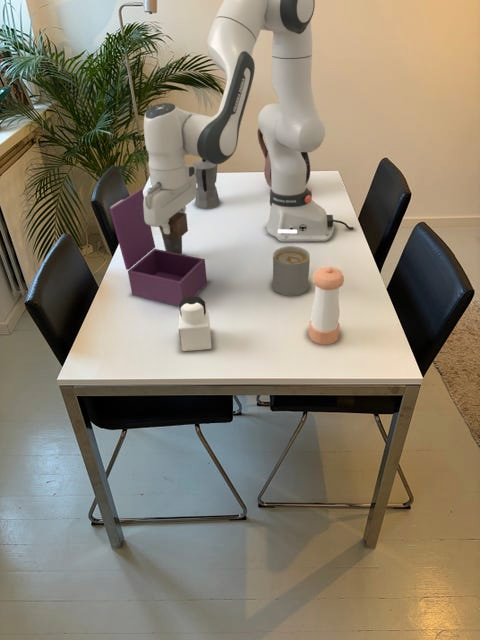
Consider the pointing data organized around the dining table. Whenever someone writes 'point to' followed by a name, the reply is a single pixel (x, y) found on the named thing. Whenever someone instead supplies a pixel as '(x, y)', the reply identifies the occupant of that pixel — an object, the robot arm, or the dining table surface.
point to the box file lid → (132, 228)
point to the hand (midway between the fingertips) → (174, 227)
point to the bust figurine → (194, 324)
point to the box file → (167, 277)
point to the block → (177, 225)
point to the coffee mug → (291, 270)
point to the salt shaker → (326, 306)
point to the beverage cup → (172, 244)
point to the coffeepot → (206, 184)
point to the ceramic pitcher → (268, 164)
